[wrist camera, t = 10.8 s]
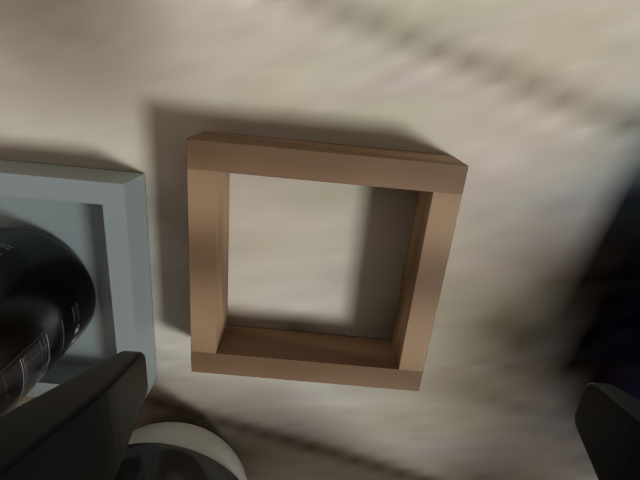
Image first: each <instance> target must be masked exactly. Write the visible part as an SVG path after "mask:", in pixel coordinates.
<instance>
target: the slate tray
mask: <svg viewBox="0 0 640 480" xmlns="http://www.w3.org/2000/svg"><path fill="white" fill-rule="evenodd" d="M0 228H23V229H28V230H33V231H36V232H40V233H42V234H45V235H47V236H50V237H52V238H54V239H55V240H57V241H59V242H60V243H62V244H63V245H65V246H66V247H67V248H69V249H70V250H71V251H72V252H73V253H74V254H75V255H76V256H77V257H78V258H79V259H80V260H81V261H82V263H83V264H84V265H85V267H86V269H87V270H88V272H89V274H90V276H91V278H92V281H93V284H94V287H95V292H96V307H95V312H94V315H93V318H92V320H91V322H90V324H89V325H88V327H87V328H86V330H85V331H84V332H83V333H82V334H81V336H80V337H79V338H78V339H77V340H76V341H75V343H74V344H73V345H72V346H71V347H70V348H69V349H68V350H67V351H66V352H65V353H64V355H63V356H62V357H61V358H60V359H59V360H58V361H57V362H56V363H55V364H54V366H53V367H52V368H51V369H50V370H49V371H48V372H47V373H46V374H45V375H44V377H43V378H42V379H41V380H40V381H39V382H38V383H37V384H36V385H35V386H34V388H33V389H32V390H31V391H30V392H29V393H28V394H27V395H26V396H25V397H38V396H39V395H41V394H43V393H45V392H47V391H49V390H51V389H52V388H54V387H56V386H58V385H60V384H62V383H64V382H65V381H67V380H69V379H71V378H73V377H75V376H77V375H78V374H80V373H82V372H84V371H86V370H88V369H90V368H91V367H93V366H95V365H97V364H99V363H101V362H103V361H104V360H106V359H108V358H110V357H112V356H114V355H116V354H117V353H119V352H121V351H137V352H142V353H143V354H144V355H145V359H146V368H147V379H148V392H147V395H148V393H149V392H150V390H151V388H152V386H153V385H154V383H155V381H156V379H157V373H156V356H155V339H154V322H153V305H152V288H151V271H150V254H149V237H148V220H147V203H146V186H145V173H137V172H126V171H115V170H105V169H94V168H84V167H73V166H62V165H52V164H41V163H31V162H20V161H9V160H0ZM146 397H147V396H146Z"/></svg>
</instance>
